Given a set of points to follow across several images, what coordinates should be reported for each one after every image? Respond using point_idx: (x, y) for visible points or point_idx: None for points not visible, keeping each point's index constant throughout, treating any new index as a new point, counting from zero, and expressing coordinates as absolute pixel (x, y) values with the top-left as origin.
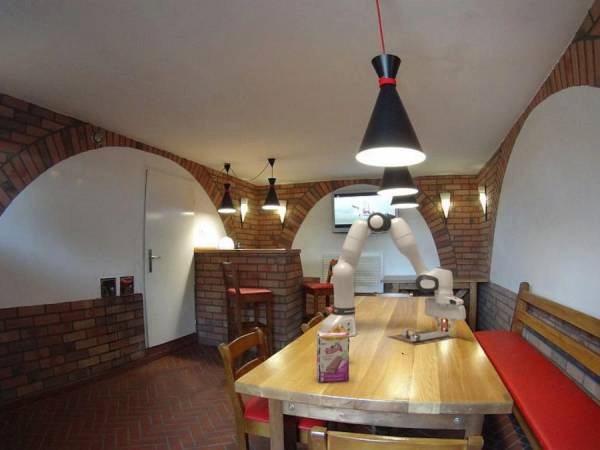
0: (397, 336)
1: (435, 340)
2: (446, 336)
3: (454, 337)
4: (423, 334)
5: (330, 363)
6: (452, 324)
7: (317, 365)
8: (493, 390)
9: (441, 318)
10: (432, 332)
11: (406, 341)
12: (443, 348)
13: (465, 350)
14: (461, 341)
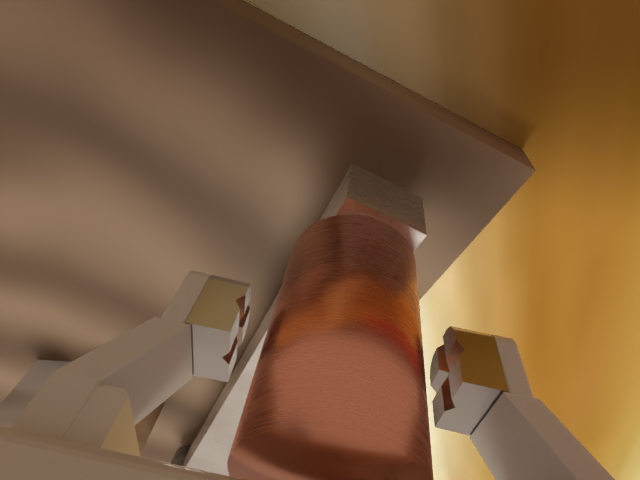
0: (2, 376)
1: None
2: (370, 171)
3: (494, 172)
4: (209, 463)
5: None
6: (521, 404)
7: None
8: None
9: (230, 456)
10: (240, 389)
11: (147, 451)
12: None
13: (584, 425)
14: (588, 149)
